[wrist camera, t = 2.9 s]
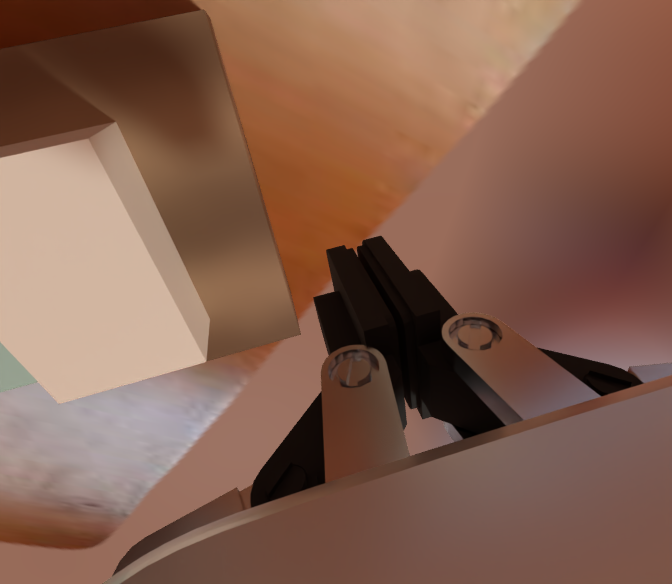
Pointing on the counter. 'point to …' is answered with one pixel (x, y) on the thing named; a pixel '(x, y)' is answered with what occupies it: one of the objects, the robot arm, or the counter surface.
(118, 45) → the plate
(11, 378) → the mat
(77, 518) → the counter surface
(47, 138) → the beige rectangular block
